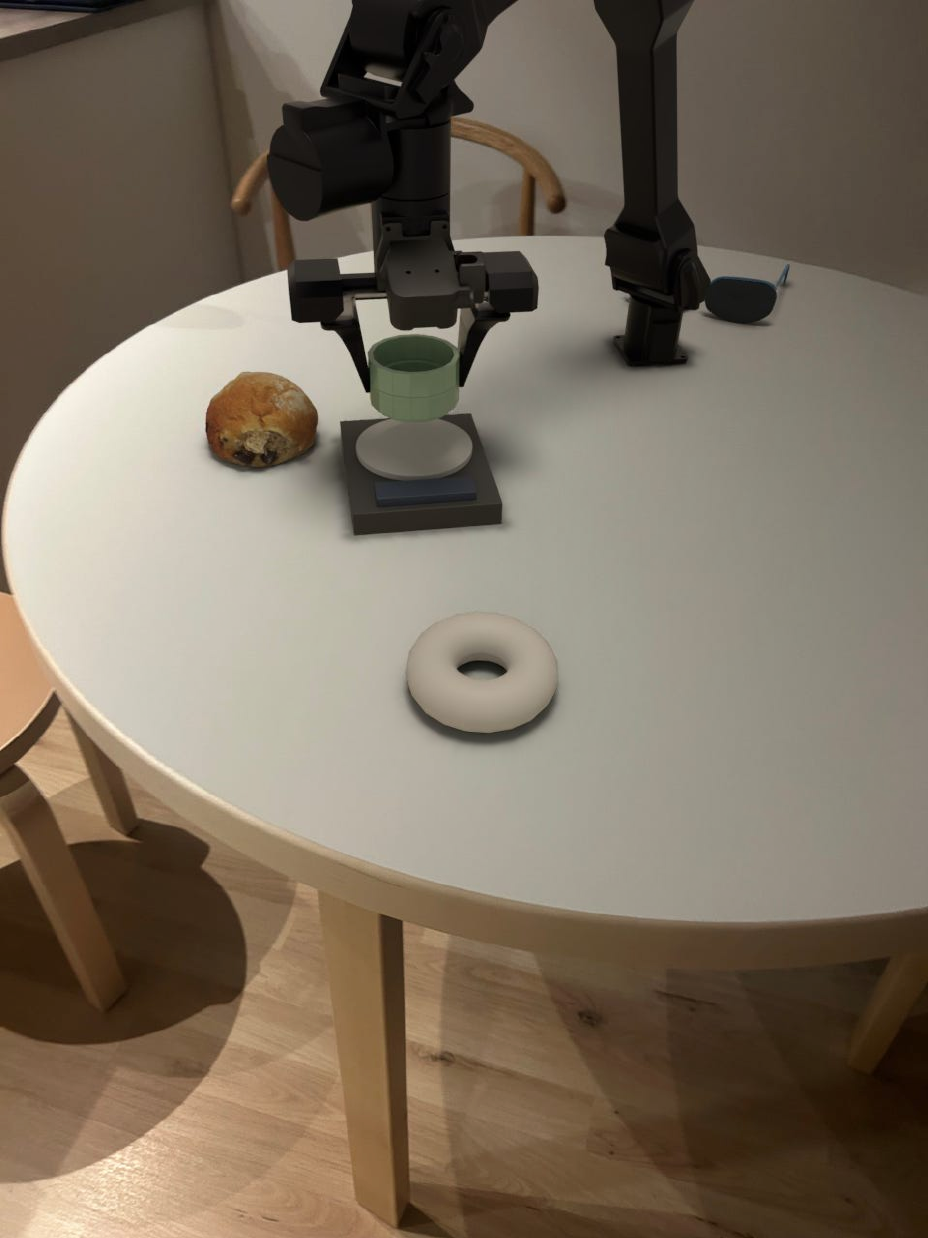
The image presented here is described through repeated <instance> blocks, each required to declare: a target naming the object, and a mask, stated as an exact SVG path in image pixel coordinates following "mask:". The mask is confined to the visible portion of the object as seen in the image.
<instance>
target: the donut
mask: <svg viewBox="0 0 928 1238" xmlns="http://www.w3.org/2000/svg"><path fill="white" fill-rule="evenodd" d="M474 661H475V662H476V661H482V662H483V661H484V662H491V663H494V664H497V665H499V666H501V667H502V668H504V669H505V671H506V672H505V673H504V674H503V675H501V676H498V677H495V678H490V679H479V678H478V679H477V678H473V677H470V676H466V675H465V674H463V673H462V672H460V671H459V670H458V668H460V667H461V666H462V665H465V664H466V663H469V662H474ZM404 672H405V673H404V674H405V678H406V681H407V684H408V688H409V692H410V695H411V697H412V698H413V699H414V701H416V702H417V703H418V705H419V706H420V707H421V709H422V710H423V711H424V713H425V714H426V715H428V716H430V717H431V718H433V719H434V720H436V721H438V722H439V723H441V724H442V725H444V726H447V727H450V728H454V729H456V730H460V731H463V732H470V733H482V734H483V733H485V734H491V733H497V732H502V731H503V732H504V731H510V730H513V729H515V728H518V727H519V726H522V725H524V724H526V723H528V722H531V721H532V720H533V719H534V718H535V717H536V716H538V714H540V713H541V712H542V711H543V710H544V709H545V708H546V707H547V706H548V705H549V704H550V703H551V700H552V698H553V696H554V694H555V692H556V690H557V687H558V684H559V665H558V659H557V657H556V655H555V652H554V651H553V649H552V647H551V644H550V643H549V641H548V640H547V639H546V638H545V637H544V636H543V635H542V633H540V632H539V631H538V630H537V629H536V628H535V627H533V626H531V625H529V624H528V623H526V622H524V621H522V620H520V619H519V618H516V617H514V616H510V615H507V614H504V613H500V612H492V611H478V610H477V611H469V612H462V613H455V614H453V615H450V616H448V617H446V618H443V619H440V620H438V621H436V622H434V623H433V624H431V625H430V626H429V627H428V628H426V629H425V630H423V631H422V632H421V633H420V634H419V635H418V637H417V639H416V640H415V641H414V643H413V645H412V646H411V648H410V649H409V650H408V655H407V660H406V667H405V671H404Z"/></svg>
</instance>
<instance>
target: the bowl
mask: <svg viewBox="0 0 928 1238" xmlns="http://www.w3.org/2000/svg"><path fill="white" fill-rule="evenodd" d="M457 347H458V346H456V345H454V344H453V343H451V341H449V340H447V339H444V338H441V337H438V336H435V335H427V334H420V333H410V334H398V335H394V336H389V337H386V338H383V339H381V340H378V341H377V342H375V343H373V344H372V345H371V347H369V350H368V351H367V364H368V369H369V374H370V383H371V389H370V390H371V392H370V393H369V401H370V404H371V406H372V407H373V408H374V409H375V410H376V411H377V412H378V413H379V414H381V415H383V416H384V417H386V418H390V419H393V420H397V421H401V422H411V423H418V422H427V421H432V420H435V419H438V418H441V417H443V416H444V415H448V414H449V413H450V412H451V411H453V410H454V409H456V407H457V405H458V403H459V401H460V387H459V370H460V354H459V352H458V349H457Z"/></svg>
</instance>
